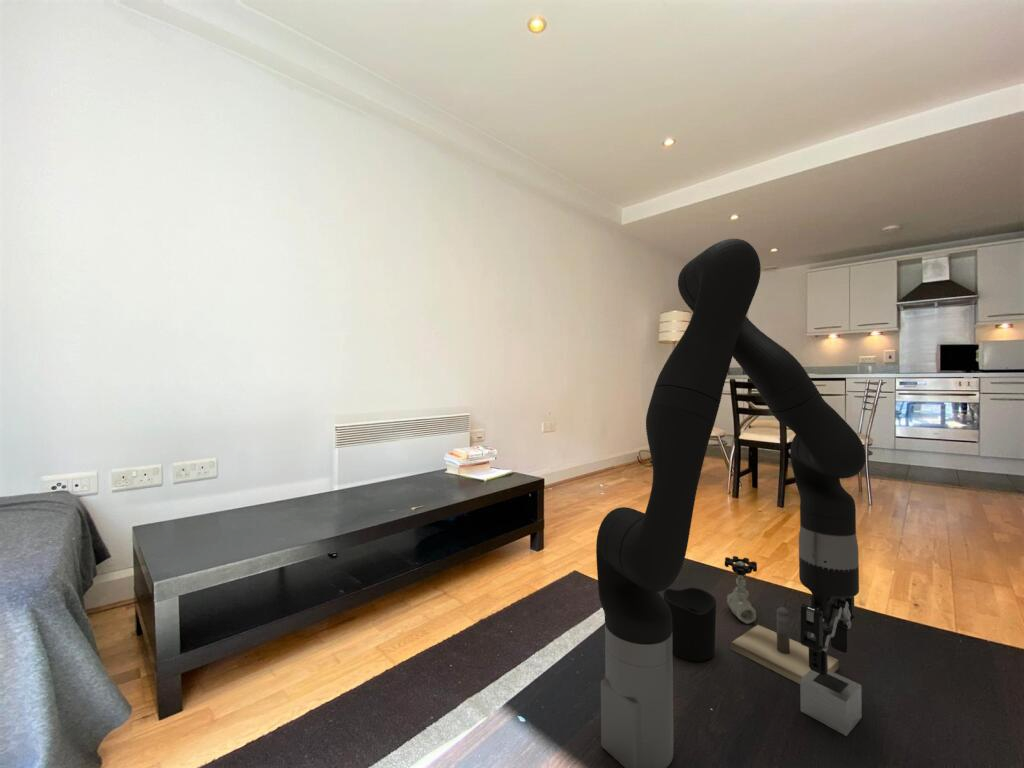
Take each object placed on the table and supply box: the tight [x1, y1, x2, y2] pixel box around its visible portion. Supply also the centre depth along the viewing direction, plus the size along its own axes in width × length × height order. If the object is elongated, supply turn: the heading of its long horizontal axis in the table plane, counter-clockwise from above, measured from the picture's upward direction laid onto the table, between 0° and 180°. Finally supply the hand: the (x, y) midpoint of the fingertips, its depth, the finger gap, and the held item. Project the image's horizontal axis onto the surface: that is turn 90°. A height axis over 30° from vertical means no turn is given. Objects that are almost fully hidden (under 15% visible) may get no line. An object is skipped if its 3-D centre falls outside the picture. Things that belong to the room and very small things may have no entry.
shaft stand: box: [731, 606, 840, 685], centre depth 82 cm, size 10×14×10 cm
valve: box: [724, 555, 758, 625], centre depth 96 cm, size 7×7×12 cm
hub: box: [799, 670, 863, 737], centre depth 68 cm, size 6×6×5 cm
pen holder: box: [662, 587, 717, 663], centre depth 85 cm, size 9×9×10 cm
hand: (829, 660), depth 69 cm, fingers open, 8 cm apart
